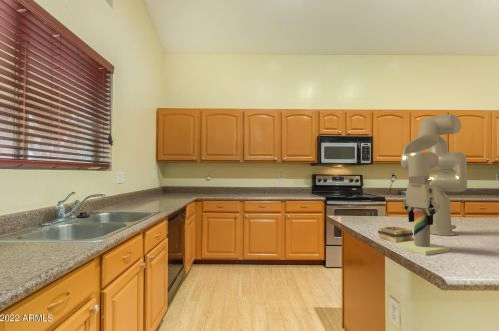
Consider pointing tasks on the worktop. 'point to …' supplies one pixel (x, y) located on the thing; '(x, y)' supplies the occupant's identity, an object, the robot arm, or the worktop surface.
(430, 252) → the board
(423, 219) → the lotion bottle
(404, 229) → the holder
